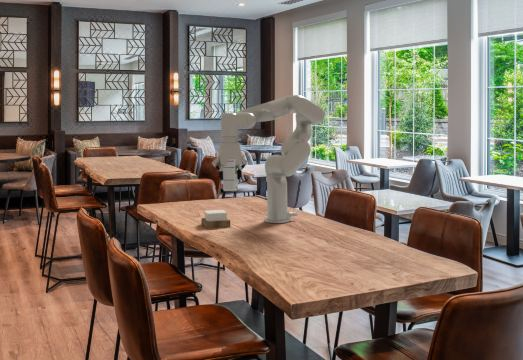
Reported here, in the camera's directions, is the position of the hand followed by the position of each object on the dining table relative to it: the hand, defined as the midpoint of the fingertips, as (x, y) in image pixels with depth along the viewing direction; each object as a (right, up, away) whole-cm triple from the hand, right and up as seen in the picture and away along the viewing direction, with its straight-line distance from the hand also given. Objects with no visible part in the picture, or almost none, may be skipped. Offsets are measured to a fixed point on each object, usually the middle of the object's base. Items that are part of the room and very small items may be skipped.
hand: (230, 179), depth 284 cm
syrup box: (0, -5, +1) cm, 5 cm away
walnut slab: (-7, -22, +7) cm, 24 cm away
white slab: (-7, -18, +7) cm, 21 cm away
